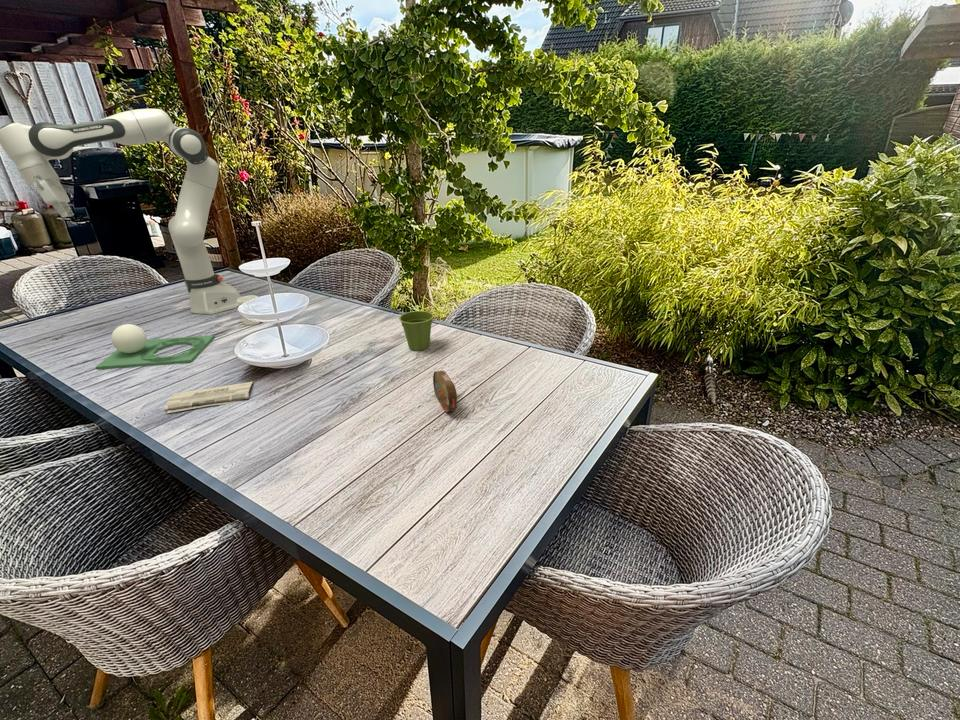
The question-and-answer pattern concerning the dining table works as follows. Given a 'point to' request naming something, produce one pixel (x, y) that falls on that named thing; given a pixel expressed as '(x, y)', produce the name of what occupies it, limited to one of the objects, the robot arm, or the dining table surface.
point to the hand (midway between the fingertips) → (68, 216)
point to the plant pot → (417, 328)
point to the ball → (128, 338)
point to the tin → (445, 391)
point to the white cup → (243, 300)
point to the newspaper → (208, 397)
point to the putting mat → (152, 347)
